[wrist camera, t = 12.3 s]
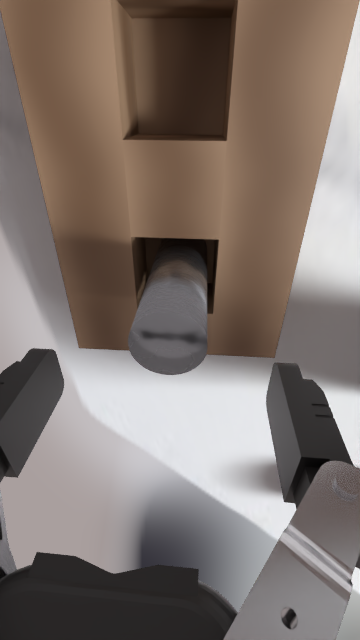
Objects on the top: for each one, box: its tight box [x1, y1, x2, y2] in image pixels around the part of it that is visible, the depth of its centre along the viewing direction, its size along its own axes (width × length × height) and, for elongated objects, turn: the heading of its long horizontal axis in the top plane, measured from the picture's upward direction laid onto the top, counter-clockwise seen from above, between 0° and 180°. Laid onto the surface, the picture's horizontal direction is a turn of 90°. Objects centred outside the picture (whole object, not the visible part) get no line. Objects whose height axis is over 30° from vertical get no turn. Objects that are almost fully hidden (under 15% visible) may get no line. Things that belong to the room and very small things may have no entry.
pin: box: [128, 238, 207, 375], centre depth 16 cm, size 3×3×10 cm
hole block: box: [0, 0, 359, 358], centre depth 17 cm, size 13×20×5 cm, turn 0°
